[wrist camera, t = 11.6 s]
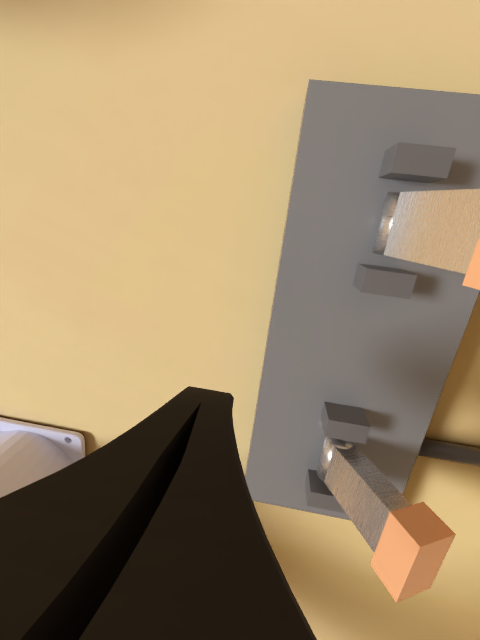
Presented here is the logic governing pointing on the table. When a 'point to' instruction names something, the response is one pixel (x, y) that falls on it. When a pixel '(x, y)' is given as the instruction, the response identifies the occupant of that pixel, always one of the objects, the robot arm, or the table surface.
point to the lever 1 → (433, 230)
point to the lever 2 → (386, 520)
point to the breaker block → (361, 293)
